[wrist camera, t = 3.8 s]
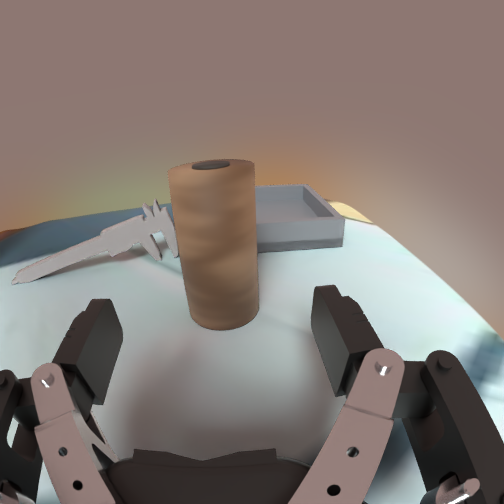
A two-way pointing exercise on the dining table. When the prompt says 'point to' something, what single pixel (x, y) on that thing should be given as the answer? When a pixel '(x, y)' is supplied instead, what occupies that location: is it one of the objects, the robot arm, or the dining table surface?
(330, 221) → the tray
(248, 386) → the dining table surface
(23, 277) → the caliper
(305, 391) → the dining table surface
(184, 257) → the cylinder
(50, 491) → the dining table surface
